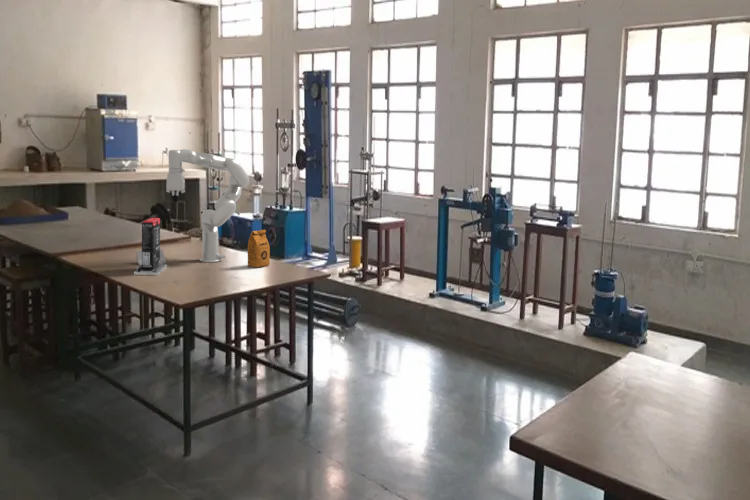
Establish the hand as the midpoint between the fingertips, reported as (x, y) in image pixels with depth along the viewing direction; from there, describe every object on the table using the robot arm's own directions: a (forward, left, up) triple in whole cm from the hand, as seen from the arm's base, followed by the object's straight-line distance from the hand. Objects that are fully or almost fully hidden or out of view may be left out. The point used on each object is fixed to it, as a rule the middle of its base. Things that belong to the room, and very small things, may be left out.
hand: (175, 202), depth 401 cm
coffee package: (-49, +2, -37) cm, 62 cm away
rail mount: (+10, +21, -37) cm, 44 cm away
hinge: (+16, -2, -38) cm, 41 cm away
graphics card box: (+10, +20, -35) cm, 42 cm away
